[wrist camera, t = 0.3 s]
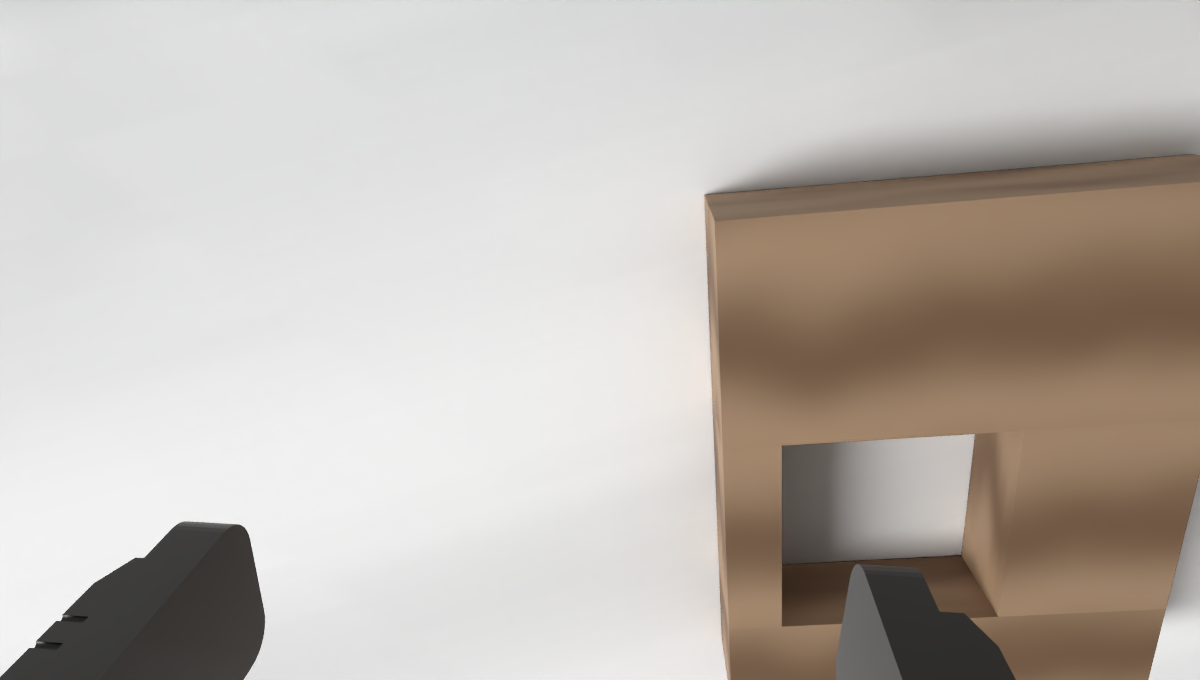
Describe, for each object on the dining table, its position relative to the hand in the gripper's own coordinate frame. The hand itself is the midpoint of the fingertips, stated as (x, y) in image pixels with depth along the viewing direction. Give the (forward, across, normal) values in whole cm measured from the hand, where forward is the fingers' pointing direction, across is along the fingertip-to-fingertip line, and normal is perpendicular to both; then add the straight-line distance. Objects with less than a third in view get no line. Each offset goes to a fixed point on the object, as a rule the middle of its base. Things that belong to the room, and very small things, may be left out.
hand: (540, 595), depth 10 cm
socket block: (+19, -12, +8) cm, 24 cm away
